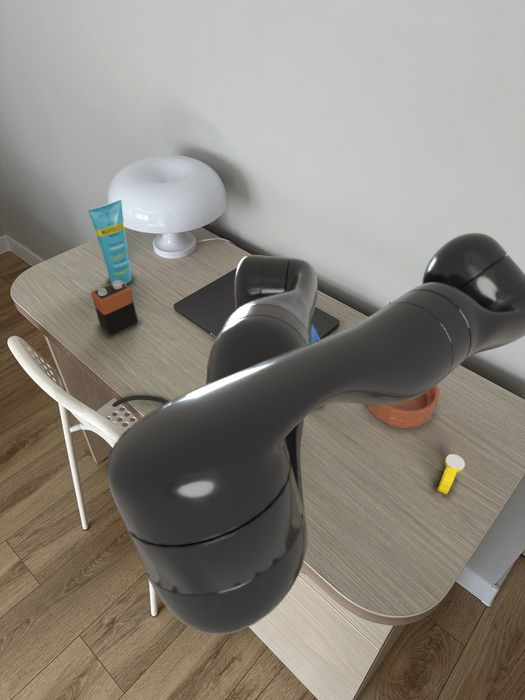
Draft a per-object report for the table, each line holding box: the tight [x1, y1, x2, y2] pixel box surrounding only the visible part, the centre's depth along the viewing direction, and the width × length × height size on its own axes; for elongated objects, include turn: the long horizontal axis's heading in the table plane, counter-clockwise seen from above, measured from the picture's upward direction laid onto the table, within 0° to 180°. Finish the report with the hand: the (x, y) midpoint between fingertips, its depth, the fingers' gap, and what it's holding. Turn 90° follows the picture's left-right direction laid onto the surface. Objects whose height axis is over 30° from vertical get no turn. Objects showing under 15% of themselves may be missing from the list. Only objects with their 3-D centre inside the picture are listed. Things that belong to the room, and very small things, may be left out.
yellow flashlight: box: [437, 453, 466, 495], centre depth 75 cm, size 6×3×6 cm, turn 149°
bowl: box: [366, 384, 441, 429], centre depth 87 cm, size 12×12×4 cm
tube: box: [87, 199, 132, 285], centre depth 109 cm, size 7×5×19 cm, turn 134°
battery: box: [91, 280, 138, 336], centre depth 100 cm, size 4×7×10 cm, turn 131°
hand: (426, 326), depth 77 cm, fingers closed on supplement bottle, 5 cm apart
